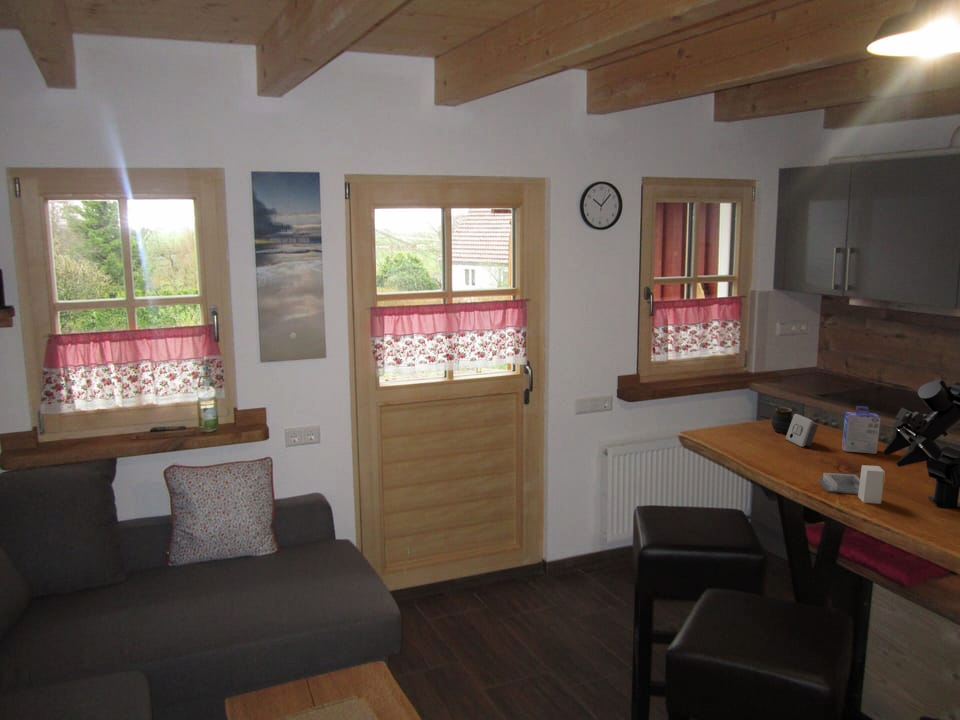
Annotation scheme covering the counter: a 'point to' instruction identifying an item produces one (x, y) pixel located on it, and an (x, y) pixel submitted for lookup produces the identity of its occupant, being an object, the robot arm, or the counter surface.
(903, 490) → the counter surface
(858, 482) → the rail cradle
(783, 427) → the mate gourd
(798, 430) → the electrical switch
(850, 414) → the ink cartridge box
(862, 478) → the block
